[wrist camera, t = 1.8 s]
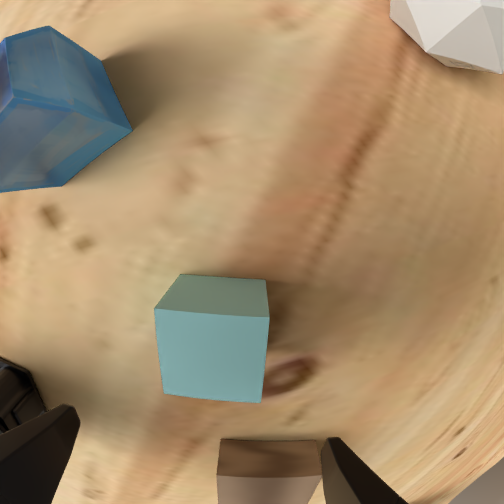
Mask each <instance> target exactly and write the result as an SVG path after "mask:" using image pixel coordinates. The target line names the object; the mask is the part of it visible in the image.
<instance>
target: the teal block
mask: <svg viewBox="0 0 504 504" xmlns="http://www.w3.org/2000/svg"><path fill="white" fill-rule="evenodd" d="M154 313H155V325H156V335H157V345H158V354H159V362H160V370H161V377H162V384H163V391H164V394H171V395H177V396H185V397H192V398H201V399H211V400H221V401H235V402H253V403H261V396H262V387H263V378H264V369H265V359H266V350H267V340H268V330H269V319H270V316H269V307H268V298H267V290H266V281H265V280H262V279H245V278H229V277H214V276H199V275H186V274H180V275H179V277H178V278H177V279H176V281H175V282H174V283H173V284H172V286H171V287H170V288H169V290H168V291H167V292H166V294H165V295H164V296H163V297H162V299H161V300H160V301H159V303H158V304H157V305H156V307H155V308H154Z"/></svg>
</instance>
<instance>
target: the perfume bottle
mask: <svg viewBox="0 0 504 504" xmlns="http://www.w3.org/2000/svg"><path fill="white" fill-rule="evenodd" d="M132 131H133V130H132V128H131V126H130V124H129V122H128V119H127V117H126V115H125V113H124V111H123V109H122V107H121V105H120V102H119V100H118V98H117V96H116V94H115V91H114V89H113V87H112V85H111V83H110V80H109V78H108V76H107V74H106V71H105V69H104V67H103V64H102V62H101V60H99V59H98V58H96V57H95V56H93V55H92V54H91V53H89V52H88V51H86V50H85V49H83V48H82V47H81V46H79V45H78V44H76V43H75V42H73V41H72V40H70V39H69V38H67V37H66V36H64V35H63V34H61V33H60V32H58V31H57V30H55V29H53V28H52V27H50V26H45V27H40V28H36V29H33V30H29V31H25V32H22V33H19V34H15V35H12V36H9V37H6V38H4V40H3V41H2V42H1V43H0V193H2V192H10V191H19V190H28V189H37V188H48V187H60V186H63V185H64V184H65V183H66V182H67V181H69V180H70V179H71V178H72V177H73V176H74V175H76V174H77V173H78V172H79V171H80V170H82V169H83V168H84V167H85V166H86V165H88V164H89V163H90V162H91V161H93V160H94V159H95V158H97V157H98V156H99V155H100V154H102V153H103V152H104V151H106V150H107V149H108V148H110V147H111V146H112V145H114V144H115V143H116V142H118V141H119V140H121V139H122V138H123V137H125V136H126V135H128V134H129V133H131V132H132Z"/></svg>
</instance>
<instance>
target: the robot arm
mask: <svg viewBox="0 0 504 504" xmlns="http://www.w3.org/2000/svg"><path fill="white" fill-rule="evenodd" d="M79 428H80V419H79V417H78V415H77V412H76V410H75V408H74V407H73V406H71V405H69V404H62V405H60V406H58V407H56V408H54V409H52V410H50V411H48V412H47V411H46V409H45V407H44V404H43V402H42V400H41V398H40V396H39V393H38V391H37V389H36V386H35V384H34V381H33V379H32V376H31V374H30V373H29V371H27V370H26V369H23V368H21V367H18V366H16V365H14V364H12V363H10V362H7V361H5V360H3V359H1V358H0V504H51V503H52V500H53V498H54V495H55V492H56V490H57V487H58V485H59V482H60V480H61V477H62V475H63V473H64V470H65V468H66V466H67V463H68V461H69V459H70V456H71V453H72V450H73V447H74V443H75V440H76V437H77V434H78V431H79ZM321 464H322V477H323V489H324V496H325V500H326V504H408V503H407V502H406V501H405V500H404V499H403V498H401V497H400V496H399V495H398V494H397V493H396V492H395V491H394V490H393V489H391V488H390V487H389V486H388V485H387V484H386V483H385V482H384V481H383V480H382V479H381V478H380V477H379V476H378V475H377V474H376V473H374V472H373V471H372V470H371V469H370V468H369V467H368V466H367V465H366V464H365V463H364V462H363V461H362V460H361V459H360V458H359V457H358V456H357V455H356V454H355V453H354V452H353V451H352V450H351V449H350V448H349V447H348V446H347V445H346V444H345V443H344V442H343V441H342V440H341V439H340V438H339V437H329V438H327V439H326V440H325V443H324V446H323V448H322V451H321Z"/></svg>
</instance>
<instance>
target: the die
mask: <svg viewBox="0 0 504 504" xmlns="http://www.w3.org/2000/svg"><path fill="white" fill-rule="evenodd" d="M390 18H391V19H392V20H393V21H394V22H395V23H396V24H398V25H399V26H400V27H401V28H402V29H403V30H404V31H405V32H406V33H407V34H408V35H409V36H410V37H411V38H412V39H413V40H414V41H415V42H416V43H417V44H418V45H419V46H420V47H421V48H422V49H423V50H424V51H425V52H426V53H428V54H429V55H431V56H432V57H434V58H435V59H437V60H438V61H440V62H441V63H443V64H444V65H445V66H447V67H457V68H465V69H473V70H479V71H485V72H491V73H496V74H501V75H502V74H503V71H504V0H391V2H390Z"/></svg>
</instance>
